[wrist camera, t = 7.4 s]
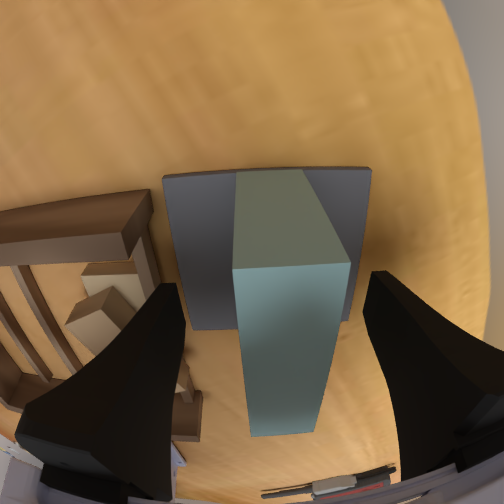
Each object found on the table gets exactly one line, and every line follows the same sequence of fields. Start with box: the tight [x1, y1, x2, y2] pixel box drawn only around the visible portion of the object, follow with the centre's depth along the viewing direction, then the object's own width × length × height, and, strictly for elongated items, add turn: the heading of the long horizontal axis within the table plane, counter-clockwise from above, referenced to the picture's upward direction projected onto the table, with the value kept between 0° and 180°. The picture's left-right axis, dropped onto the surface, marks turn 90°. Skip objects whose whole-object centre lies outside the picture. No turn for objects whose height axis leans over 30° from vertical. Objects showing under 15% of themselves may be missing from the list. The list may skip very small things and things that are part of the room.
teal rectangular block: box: [232, 169, 351, 437], centre depth 11 cm, size 8×2×6 cm, turn 3°
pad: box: [162, 167, 372, 330], centre depth 14 cm, size 8×8×1 cm
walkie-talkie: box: [261, 466, 396, 500], centre depth 35 cm, size 9×4×20 cm
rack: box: [0, 189, 203, 442], centre depth 14 cm, size 15×17×4 cm
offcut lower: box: [81, 262, 146, 313], centre depth 16 cm, size 8×3×2 cm, turn 3°
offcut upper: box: [64, 286, 189, 393], centre depth 14 cm, size 6×3×2 cm, turn 27°
